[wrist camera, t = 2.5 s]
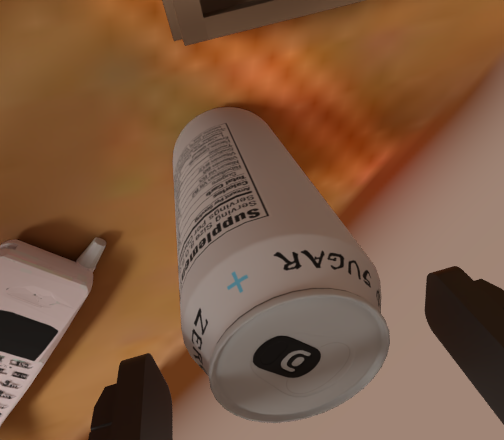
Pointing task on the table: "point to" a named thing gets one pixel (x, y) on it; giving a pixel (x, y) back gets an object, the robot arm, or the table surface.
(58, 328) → the mobile phone
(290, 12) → the rack
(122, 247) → the table surface
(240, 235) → the energy drink can
